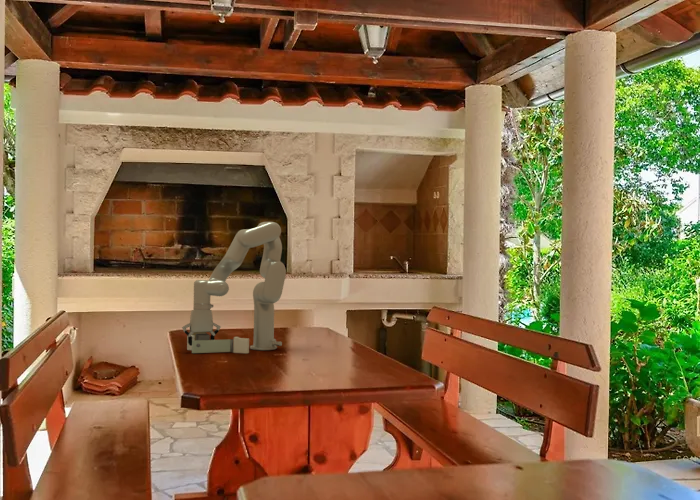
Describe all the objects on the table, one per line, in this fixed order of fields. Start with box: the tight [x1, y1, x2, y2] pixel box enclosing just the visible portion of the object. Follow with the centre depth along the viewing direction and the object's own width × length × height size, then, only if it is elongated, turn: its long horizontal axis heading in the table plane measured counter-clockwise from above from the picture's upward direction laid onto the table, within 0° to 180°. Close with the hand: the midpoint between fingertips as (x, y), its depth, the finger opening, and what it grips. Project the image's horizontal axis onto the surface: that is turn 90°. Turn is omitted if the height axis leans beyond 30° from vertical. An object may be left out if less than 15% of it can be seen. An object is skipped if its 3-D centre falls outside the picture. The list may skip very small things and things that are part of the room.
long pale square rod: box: [191, 338, 234, 354], centre depth 342 cm, size 19×2×6 cm, turn 112°
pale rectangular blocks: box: [186, 335, 250, 354], centre depth 347 cm, size 30×3×7 cm, turn 77°
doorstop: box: [196, 332, 211, 340], centre depth 345 cm, size 5×7×8 cm
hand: (201, 344), depth 344 cm, fingers open, 9 cm apart
